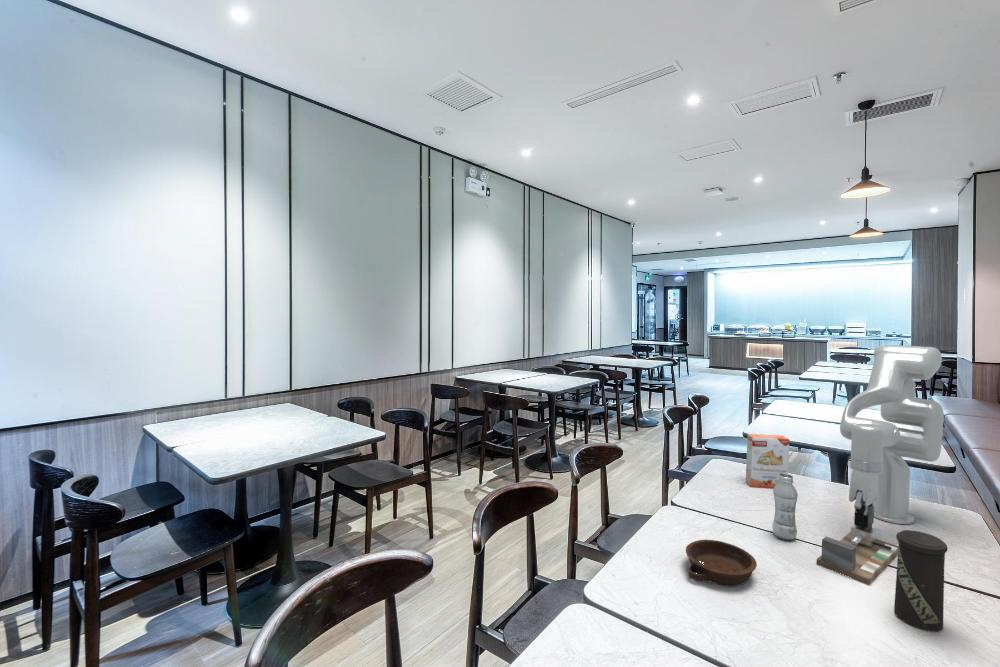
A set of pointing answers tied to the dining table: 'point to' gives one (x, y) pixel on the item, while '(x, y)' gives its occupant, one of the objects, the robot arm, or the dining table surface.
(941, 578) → the container
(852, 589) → the dining table surface
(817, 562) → the gauge base
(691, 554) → the dish
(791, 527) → the plastic bottle
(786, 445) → the cracker box
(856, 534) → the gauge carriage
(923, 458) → the robot arm
